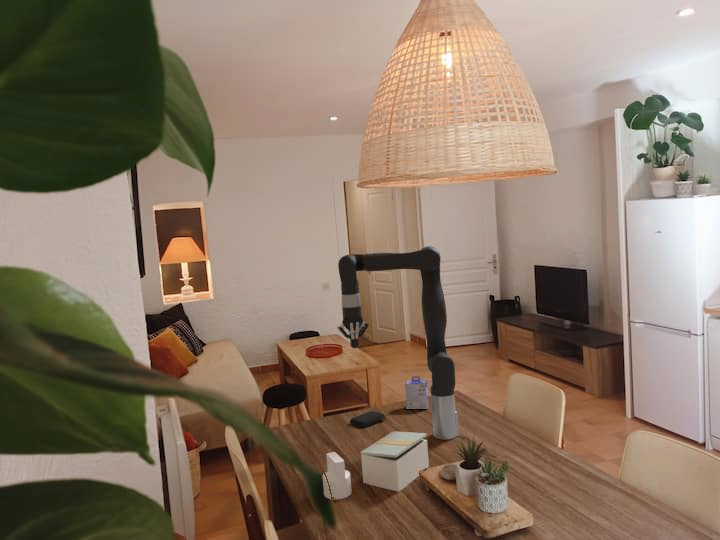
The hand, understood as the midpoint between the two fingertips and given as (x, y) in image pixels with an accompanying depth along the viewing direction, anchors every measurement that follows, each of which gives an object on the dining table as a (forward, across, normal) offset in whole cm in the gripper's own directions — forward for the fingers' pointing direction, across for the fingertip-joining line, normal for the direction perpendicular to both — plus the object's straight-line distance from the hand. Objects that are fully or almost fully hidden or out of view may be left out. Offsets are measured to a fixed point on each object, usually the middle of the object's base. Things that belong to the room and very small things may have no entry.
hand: (354, 347), depth 234 cm
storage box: (+37, -1, -38) cm, 53 cm away
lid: (+26, -1, -39) cm, 47 cm away
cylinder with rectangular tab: (+37, -23, -41) cm, 60 cm away
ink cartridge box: (+37, +35, +21) cm, 55 cm away
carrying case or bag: (+38, +9, +16) cm, 42 cm away
